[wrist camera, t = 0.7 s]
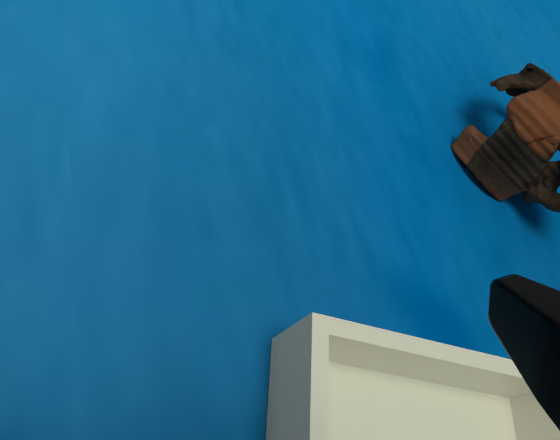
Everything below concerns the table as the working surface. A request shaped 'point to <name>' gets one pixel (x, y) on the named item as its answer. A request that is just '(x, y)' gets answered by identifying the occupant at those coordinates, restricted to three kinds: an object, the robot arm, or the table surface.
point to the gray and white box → (393, 388)
